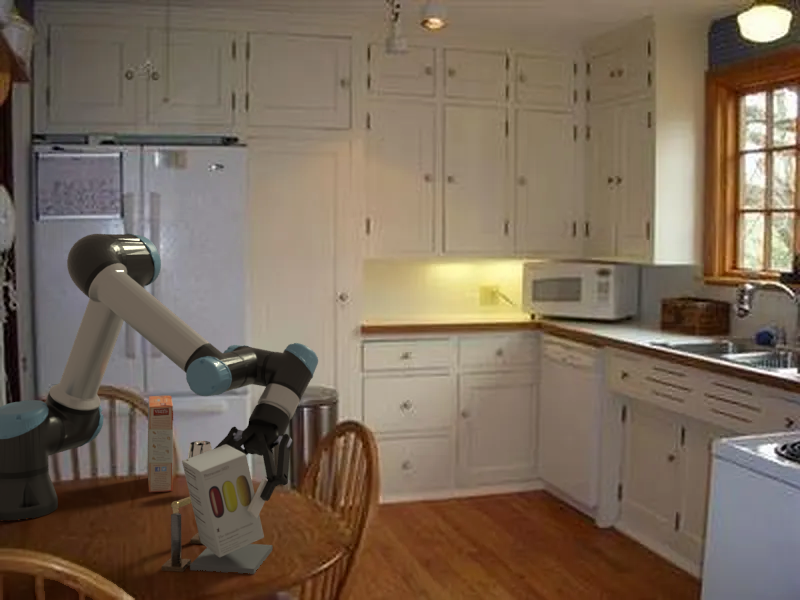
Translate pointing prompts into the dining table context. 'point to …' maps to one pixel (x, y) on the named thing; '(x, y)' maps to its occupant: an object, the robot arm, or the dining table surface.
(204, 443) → the wineglass
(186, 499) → the small hurdle
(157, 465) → the cracker box
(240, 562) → the mat
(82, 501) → the dining table surface
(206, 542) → the supplement box
